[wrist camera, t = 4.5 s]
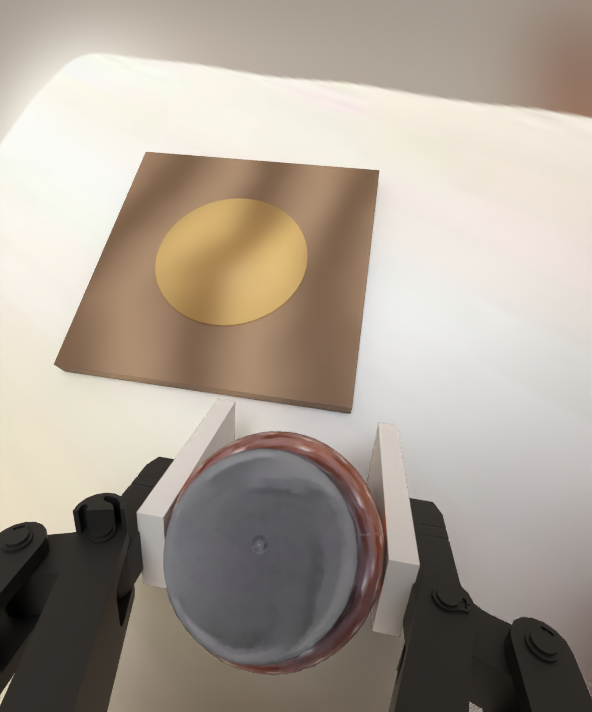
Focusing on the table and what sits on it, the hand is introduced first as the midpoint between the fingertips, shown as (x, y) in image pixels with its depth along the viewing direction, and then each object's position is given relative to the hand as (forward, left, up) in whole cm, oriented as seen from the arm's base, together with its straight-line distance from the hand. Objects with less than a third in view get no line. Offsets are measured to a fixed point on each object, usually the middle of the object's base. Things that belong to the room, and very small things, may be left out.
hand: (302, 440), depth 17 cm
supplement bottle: (0, +4, -4) cm, 5 cm away
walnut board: (+6, -10, -3) cm, 12 cm away
